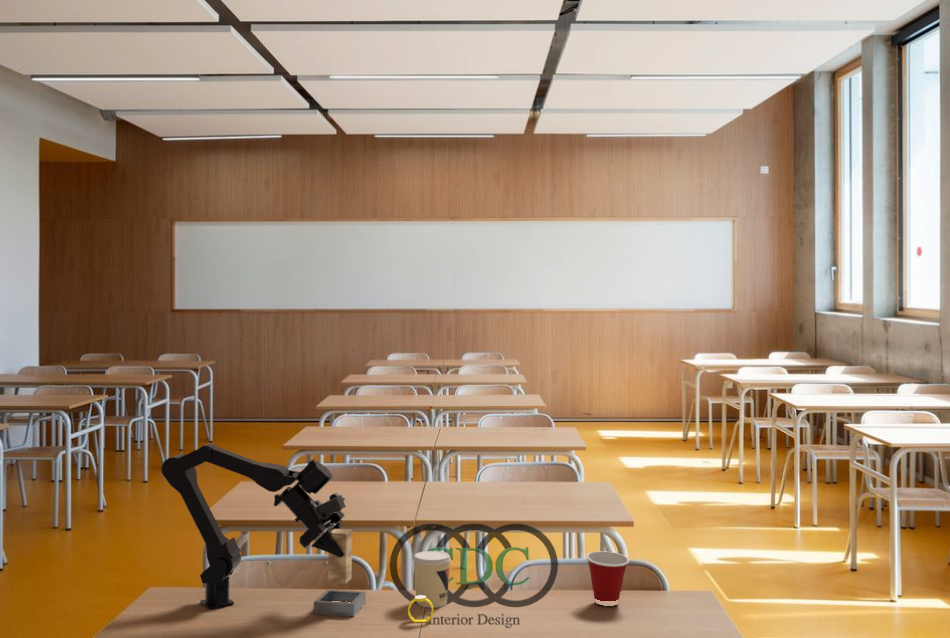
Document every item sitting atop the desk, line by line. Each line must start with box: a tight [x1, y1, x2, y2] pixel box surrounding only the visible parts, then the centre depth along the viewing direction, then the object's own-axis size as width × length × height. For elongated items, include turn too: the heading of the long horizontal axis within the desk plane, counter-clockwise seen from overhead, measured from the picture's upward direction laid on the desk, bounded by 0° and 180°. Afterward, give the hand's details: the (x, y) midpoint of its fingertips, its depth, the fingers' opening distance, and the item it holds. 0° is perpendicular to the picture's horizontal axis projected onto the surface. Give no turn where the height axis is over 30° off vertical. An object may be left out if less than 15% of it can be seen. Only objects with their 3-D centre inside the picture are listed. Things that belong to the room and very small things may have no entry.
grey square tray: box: [313, 589, 367, 617], centre depth 214 cm, size 10×10×3 cm
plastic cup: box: [586, 550, 630, 601], centre depth 221 cm, size 11×11×12 cm
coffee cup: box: [412, 550, 451, 609], centre depth 220 cm, size 9×9×12 cm
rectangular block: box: [327, 528, 353, 584], centre depth 214 cm, size 4×4×12 cm
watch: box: [407, 595, 434, 624], centre depth 206 cm, size 6×3×6 cm, turn 92°
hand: (345, 553), depth 214 cm, fingers closed on rectangular block, 4 cm apart
